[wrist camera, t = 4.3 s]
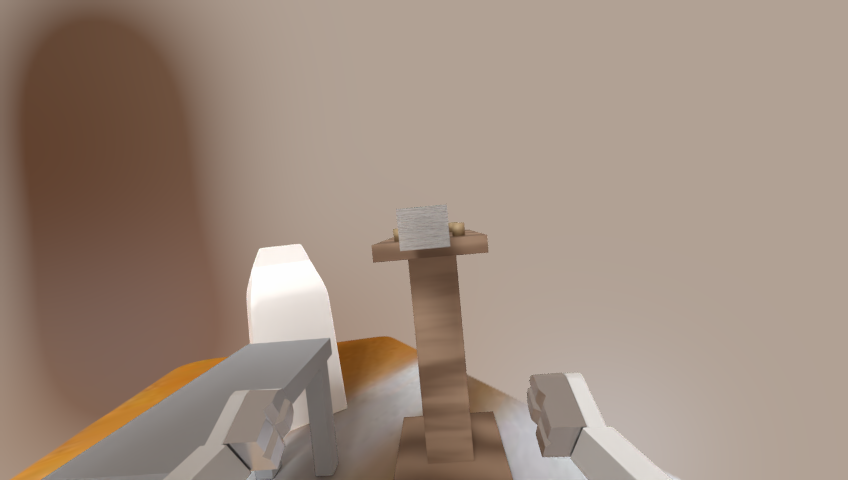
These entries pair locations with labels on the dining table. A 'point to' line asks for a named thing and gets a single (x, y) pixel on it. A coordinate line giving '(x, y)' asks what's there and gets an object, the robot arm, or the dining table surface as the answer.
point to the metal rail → (423, 227)
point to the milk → (293, 313)
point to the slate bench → (215, 414)
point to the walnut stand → (443, 371)
